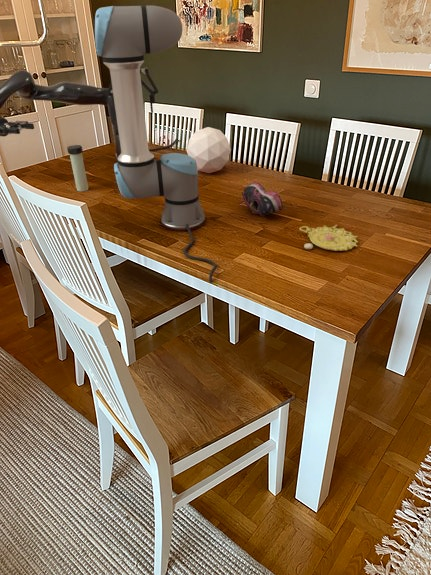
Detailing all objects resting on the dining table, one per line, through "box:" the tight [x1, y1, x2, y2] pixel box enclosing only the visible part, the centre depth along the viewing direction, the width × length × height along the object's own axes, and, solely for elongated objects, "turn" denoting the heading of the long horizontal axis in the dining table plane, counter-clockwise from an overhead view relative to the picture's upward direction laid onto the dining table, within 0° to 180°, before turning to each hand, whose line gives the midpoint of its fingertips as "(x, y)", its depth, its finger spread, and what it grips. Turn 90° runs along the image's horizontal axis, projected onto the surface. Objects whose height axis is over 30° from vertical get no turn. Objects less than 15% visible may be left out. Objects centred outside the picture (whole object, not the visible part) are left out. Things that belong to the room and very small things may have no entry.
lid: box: [66, 144, 83, 155], centre depth 178 cm, size 6×6×2 cm
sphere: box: [186, 126, 232, 174], centre depth 198 cm, size 19×20×20 cm
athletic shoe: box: [238, 182, 284, 217], centre depth 160 cm, size 11×22×12 cm
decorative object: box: [299, 224, 359, 252], centre depth 141 cm, size 21×2×20 cm
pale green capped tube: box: [69, 152, 89, 193], centre depth 182 cm, size 5×5×17 cm
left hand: (26, 128), depth 180 cm, fingers open, 8 cm apart
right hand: (135, 113), depth 181 cm, fingers open, 13 cm apart
